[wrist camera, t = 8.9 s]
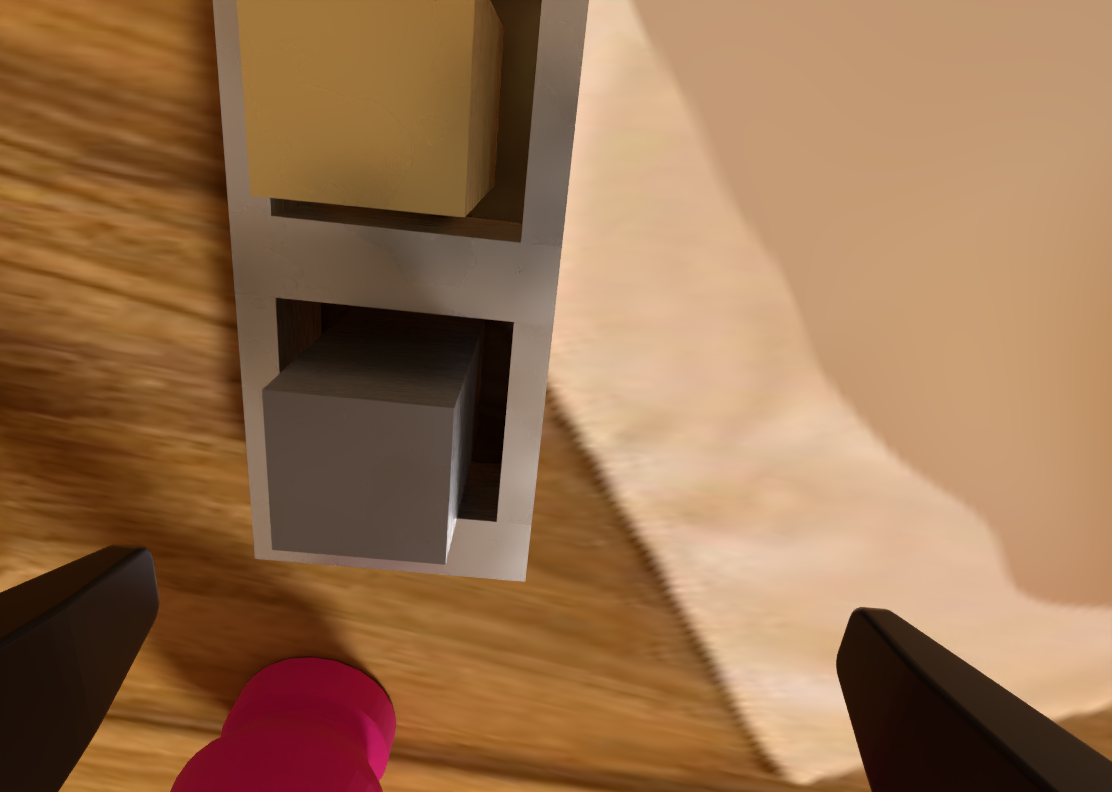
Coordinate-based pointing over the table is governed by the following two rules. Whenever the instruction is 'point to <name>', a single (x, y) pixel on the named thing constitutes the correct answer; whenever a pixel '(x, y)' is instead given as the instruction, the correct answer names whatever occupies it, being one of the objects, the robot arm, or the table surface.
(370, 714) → the pepper mill
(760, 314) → the table surface
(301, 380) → the grey slotted block holder
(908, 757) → the robot arm
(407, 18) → the wooden toy block
